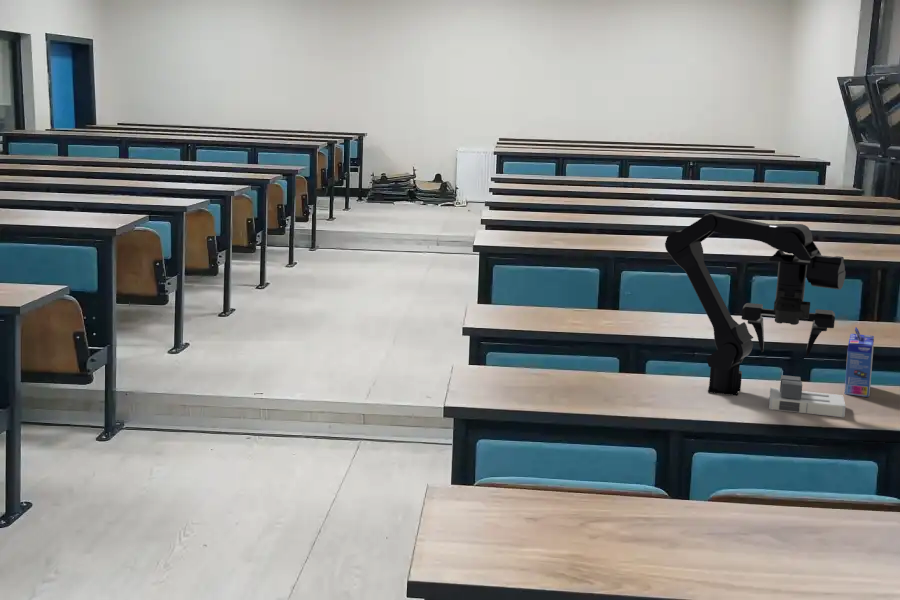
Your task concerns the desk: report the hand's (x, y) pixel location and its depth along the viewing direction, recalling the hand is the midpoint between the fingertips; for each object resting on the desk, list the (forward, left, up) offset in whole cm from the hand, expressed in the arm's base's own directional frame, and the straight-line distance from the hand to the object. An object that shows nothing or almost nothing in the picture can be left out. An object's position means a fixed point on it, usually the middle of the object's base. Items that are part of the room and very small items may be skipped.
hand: (784, 353), depth 206 cm
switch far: (+2, 0, -8) cm, 8 cm away
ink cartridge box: (+17, +16, -11) cm, 26 cm away
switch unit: (+5, -2, -11) cm, 12 cm away
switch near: (+2, -4, -8) cm, 9 cm away
